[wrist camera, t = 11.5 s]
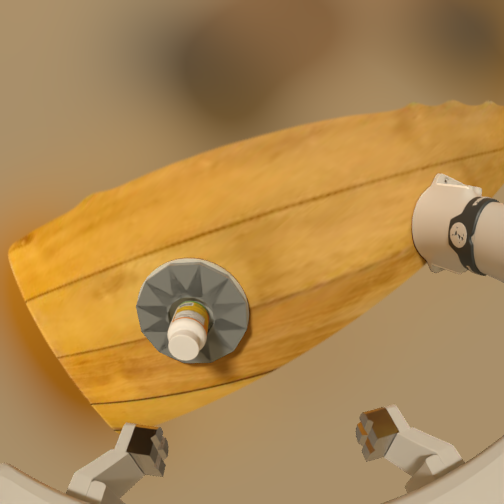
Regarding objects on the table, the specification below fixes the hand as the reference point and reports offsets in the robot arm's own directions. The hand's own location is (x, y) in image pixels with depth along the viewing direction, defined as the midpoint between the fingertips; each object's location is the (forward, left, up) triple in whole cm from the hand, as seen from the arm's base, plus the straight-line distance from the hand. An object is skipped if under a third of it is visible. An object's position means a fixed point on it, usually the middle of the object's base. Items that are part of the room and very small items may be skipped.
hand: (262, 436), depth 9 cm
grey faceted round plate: (+8, +10, -32) cm, 35 cm away
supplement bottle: (+8, +10, -32) cm, 34 cm away
